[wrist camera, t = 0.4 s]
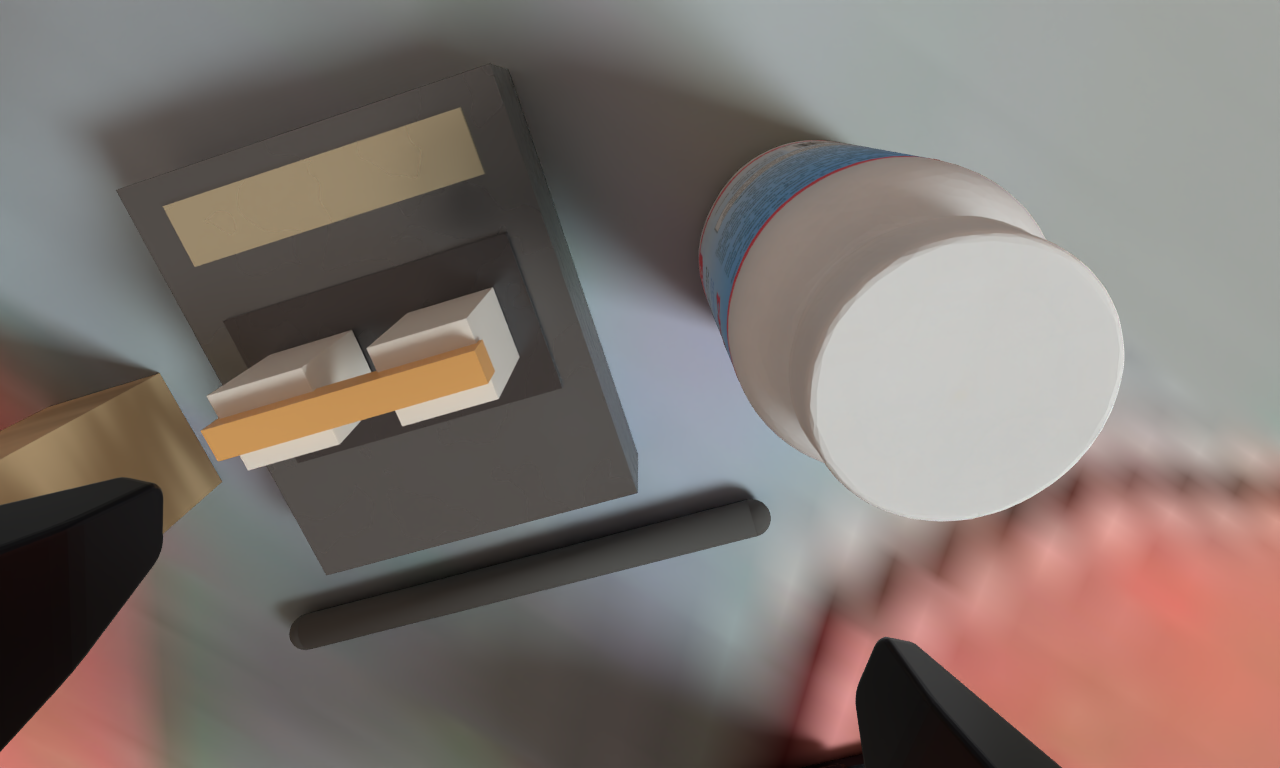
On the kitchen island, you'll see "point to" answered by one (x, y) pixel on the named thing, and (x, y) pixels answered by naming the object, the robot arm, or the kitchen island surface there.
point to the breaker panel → (401, 309)
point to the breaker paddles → (364, 382)
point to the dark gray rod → (532, 574)
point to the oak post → (108, 447)
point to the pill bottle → (909, 327)
